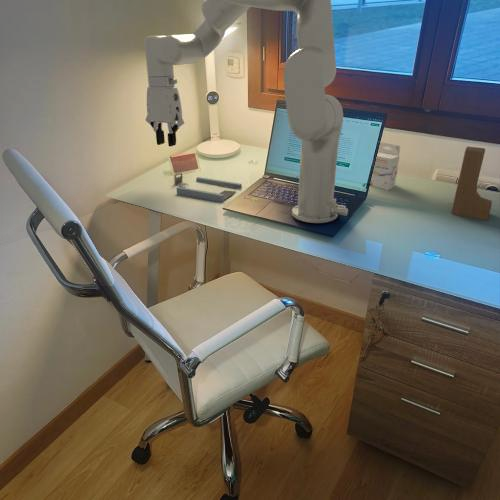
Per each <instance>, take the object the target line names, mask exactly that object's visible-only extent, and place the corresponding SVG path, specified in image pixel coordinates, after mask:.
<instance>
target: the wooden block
mask: <svg viewBox="0 0 500 500" xmlns="http://www.w3.org/2000/svg"><path fill="white" fill-rule="evenodd" d="M485 153H486V148H483V147H475V146H466V147H465V150H464V154H463V160H462V163H461V168H460V173H459V177H458V182H457V186H456V191H455V195H454V199H453V200H454V201H453V205H452V208H451V209H452V210H451V213H450V214H451V215H454V216H459V217H465V218H471V219H476V220H482V221H488V220H489V216H490V212H491V209H492V203H493V202H492V200H491V199H488V198H484V197H482V196H481V195H480V194H479V193H478V188H477V187H478V186H477V185H478V183H479V178H480V173H481V170H482V165H483V162H484V157H485Z"/></svg>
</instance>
